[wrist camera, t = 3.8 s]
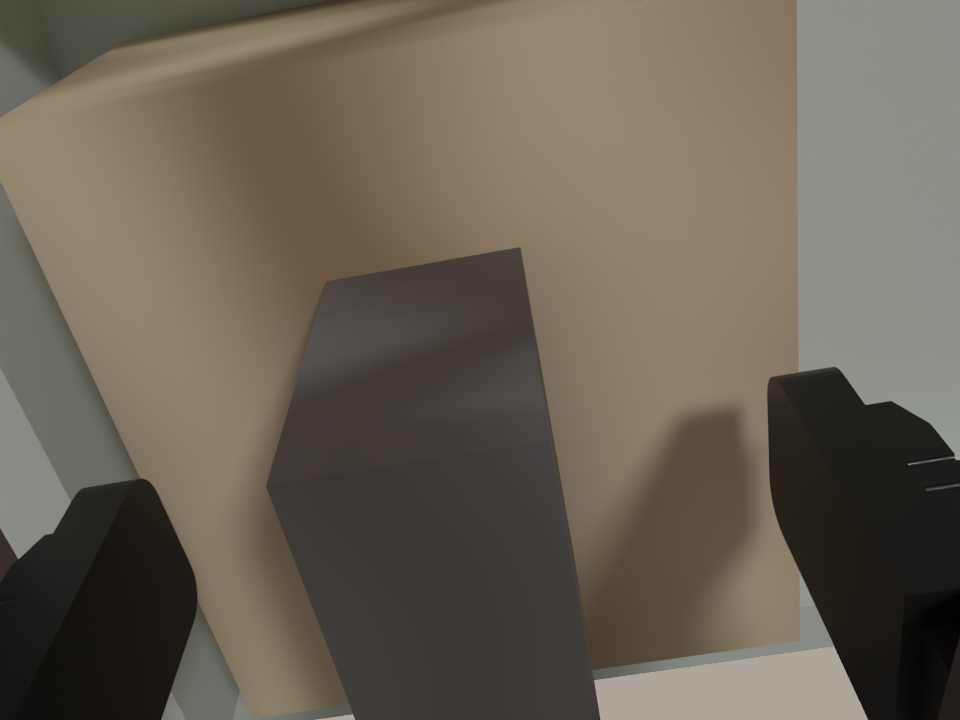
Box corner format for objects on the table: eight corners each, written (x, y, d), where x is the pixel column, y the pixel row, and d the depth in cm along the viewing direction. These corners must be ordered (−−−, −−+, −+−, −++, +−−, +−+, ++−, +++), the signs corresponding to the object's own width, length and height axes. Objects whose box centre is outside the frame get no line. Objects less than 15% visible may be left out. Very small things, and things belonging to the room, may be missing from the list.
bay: (1723, -536, 12) (2654, -809, 7) (1362, 423, 20) (1673, 626, 15) (-76, -140, 14) (-385, -125, 9) (242, 594, 22) (176, 827, 17)
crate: (689, -72, 14) (994, 52, 6) (720, 454, 19) (908, 897, 11) (122, 41, 14) (-278, 288, 7) (299, 520, 19) (191, 983, 12)
